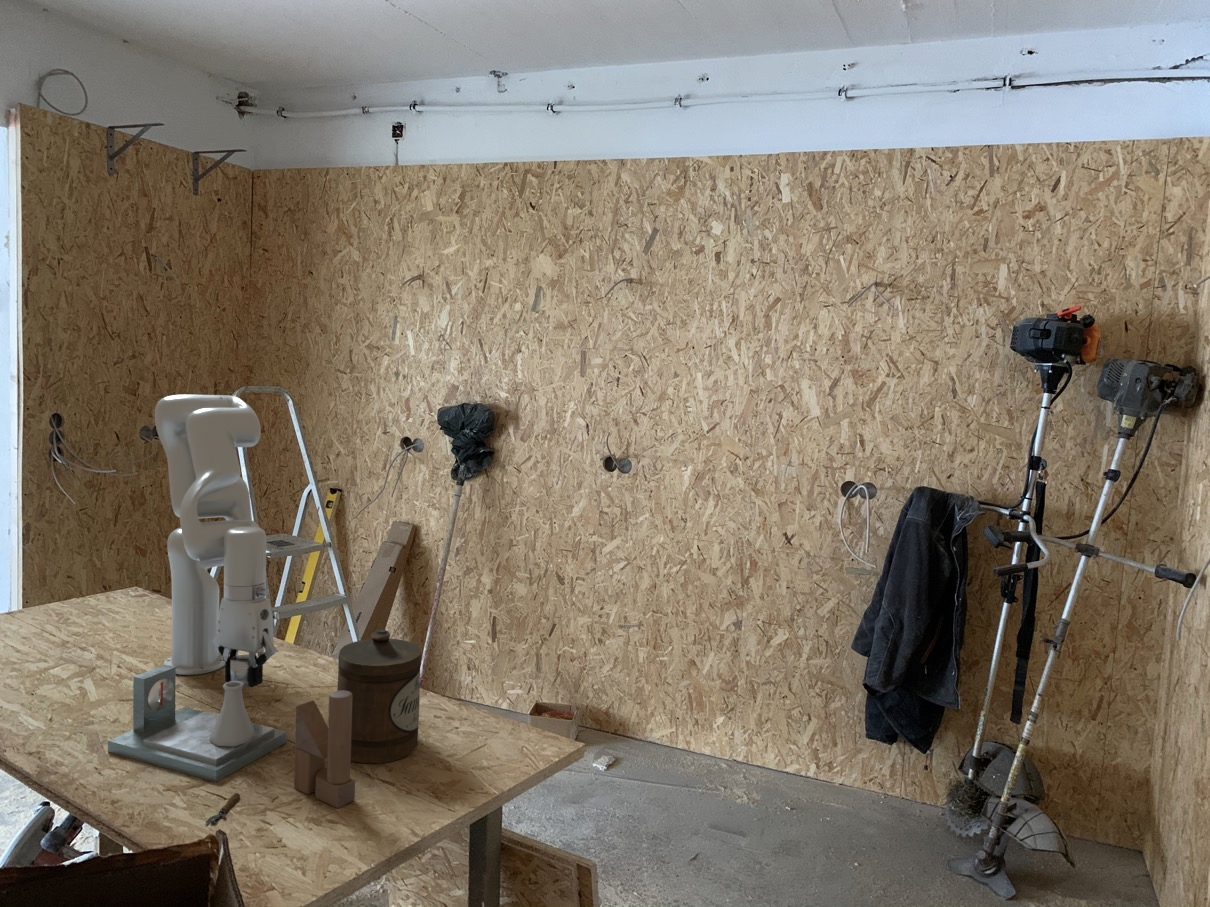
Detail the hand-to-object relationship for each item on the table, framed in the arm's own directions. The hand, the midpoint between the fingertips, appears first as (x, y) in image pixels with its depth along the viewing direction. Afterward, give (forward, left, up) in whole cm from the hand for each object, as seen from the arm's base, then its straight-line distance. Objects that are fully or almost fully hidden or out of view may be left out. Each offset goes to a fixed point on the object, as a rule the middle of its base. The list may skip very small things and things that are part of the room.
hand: (243, 681), depth 174 cm
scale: (+15, +4, -6) cm, 17 cm away
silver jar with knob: (0, 0, 0) cm, 0 cm away
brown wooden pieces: (+19, +34, -7) cm, 39 cm away
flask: (+15, +11, -4) cm, 19 cm away
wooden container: (0, +31, -7) cm, 31 cm away
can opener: (+30, +23, -7) cm, 39 cm away
